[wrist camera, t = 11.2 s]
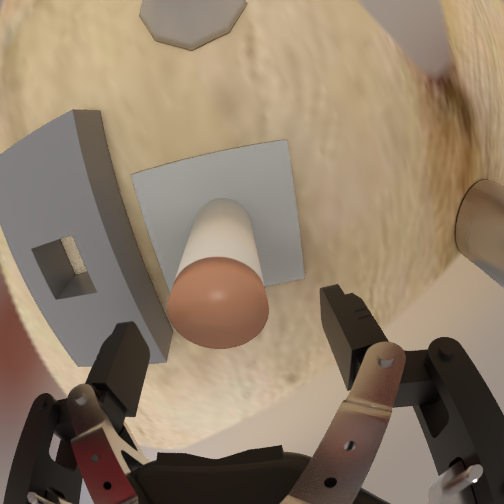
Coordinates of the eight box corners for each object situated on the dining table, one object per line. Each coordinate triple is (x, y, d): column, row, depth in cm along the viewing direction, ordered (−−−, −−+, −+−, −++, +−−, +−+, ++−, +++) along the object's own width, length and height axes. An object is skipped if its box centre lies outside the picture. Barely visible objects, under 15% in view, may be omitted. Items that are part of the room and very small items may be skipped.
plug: (244, 192, 19) (259, 259, 10) (255, 244, 20) (275, 339, 11) (188, 205, 19) (153, 280, 10) (202, 255, 20) (186, 354, 11)
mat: (285, 139, 18) (286, 139, 17) (302, 274, 23) (304, 278, 22) (133, 173, 18) (130, 175, 17) (175, 299, 23) (174, 303, 22)
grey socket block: (99, 110, 15) (72, 109, 12) (172, 331, 24) (166, 362, 21) (13, 157, 15) (-16, 167, 12) (90, 339, 24) (77, 366, 21)
